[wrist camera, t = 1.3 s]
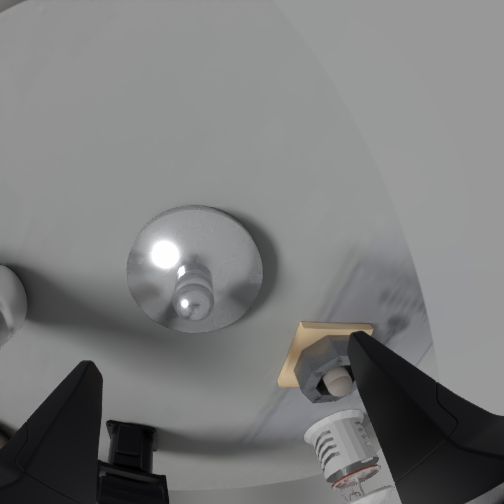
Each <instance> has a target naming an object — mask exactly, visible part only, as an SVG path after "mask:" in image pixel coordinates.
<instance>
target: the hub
mask: <svg viewBox="0 0 504 504" xmlns="http://www.w3.org/2000/svg"><path fill="white" fill-rule="evenodd" d="M127 280H128V285H129V288H130V291H131V294H132V296H133V298H134V300H135V301H136V303H137V304H138V306H139V307H140V308H141V309H142V310H143V312H144V313H145V314H147V315H148V316H149V317H150V318H151V319H153V320H154V321H156V322H157V323H159V324H161V325H163V326H165V327H167V328H170V329H173V330H176V331H180V332H186V333H205V332H211V331H215V330H218V329H221V328H224V327H226V326H228V325H230V324H232V323H234V322H235V321H237V320H238V319H240V318H241V317H242V316H243V315H244V314H245V313H246V312H247V311H248V310H249V309H250V308H251V306H252V305H253V303H254V302H255V300H256V298H257V296H258V294H259V292H260V289H261V285H262V280H263V267H262V261H261V257H260V254H259V251H258V249H257V247H256V245H255V242H254V240H253V239H252V237H251V235H250V234H249V232H248V231H247V230H246V228H245V227H244V226H243V225H242V224H241V223H240V222H239V221H238V220H236V219H235V218H233V217H232V216H231V215H229V214H227V213H225V212H223V211H221V210H218V209H215V208H212V207H207V206H199V205H189V206H181V207H176V208H173V209H170V210H168V211H165V212H163V213H161V214H160V215H158V216H157V217H155V218H154V219H152V220H151V221H150V222H149V223H148V224H147V225H146V226H145V227H144V228H143V230H142V231H141V232H140V234H139V236H138V237H137V239H136V241H135V242H134V244H133V246H132V248H131V251H130V253H129V257H128V261H127Z"/></svg>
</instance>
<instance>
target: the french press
mask: <svg viewBox="0 0 504 504" xmlns="http://www.w3.org/2000/svg"><path fill="white" fill-rule="evenodd" d="M363 419H364V413H363V412H362V411H361V410H354V409H351V410H346V411H340V412H338V413H335V414H333V415H330V416H327V417H326V418H324V419H322V420H320V421H319V422H317V423H315V424H314V425H313V426H312V427H311V428H309V429H308V430H307V432H306V433H305V435H304V440H305V442H307V443H309V444H311V445H313V446H314V449H315V452H316V454H317V457H318V459H319V463H320V465H321V467H322V470H323V472H324V476H325V478H326V481H327V482H331V483H333V482H335V483H334V484H333V485H332V489H334V490H339V489H340V492H341V494H342V496H343V497H344V499H345V500H346V501H347V503H345V504H381V503H382V502H383V501H385V500H386V499H387V498H388V497H389V496H390V495H391V493H392V491H393V490H394V488H395V487H394V486H391V485H388V486H384V487H381V488H379V489H376V490H374V491H371V492H369V493H367V494H364V492H363V490H362V487H361V485H360V483H361V482H363V481H365V480H367V479H369V478H371V477H372V476H373V475H375V474H376V473H377V472H378V471H379V470H380V468H381V466H379V465H375V464H376V463H377V462H378V460H379V457H378V455H377V453H376V451H375V449H374V447H373V446H372V443H371V441H370V440H369V438H367V437H368V435H367V433H366V431H364V430H365V429H364V428H363V425H362V422H363ZM363 429H364V430H363ZM364 434H365V437H364V438H362V436H363V435H364ZM367 441H368V443H367V446H366V444H365V442H367ZM370 443H371V444H370ZM334 444H336V446H337V447H335V448H332V447H331V445H334ZM337 451H339V453H340V455H338V456H335V454H334V452H337ZM318 452H320V454H319V455H318ZM370 457H373V459H372V460H370V461H368V462H365V463H361V461H360V460H363V459H366V458H370ZM321 458H323V460H322V462H320V460H321ZM324 465H325V466H326V467H325V468H324V469H323V466H324ZM344 467H345V474H346V475H345V476H343V473H342V471H341V469H342V468H344ZM347 472H348V474H347ZM357 483H358V484H359V487H360V488H361V491H362V493H363V495H362V496H361V494H360V493H359V492H354V491H353V489H352V487H351V486H352V485H355V484H356V485H357ZM346 487H350V489H351V491H352V494H350V495H349V497H348V499H349V501H348V500H347V499H346V498H345V496H344V495H343V493H342V490H341V489H344V488H346ZM356 493H358V494H359V496H360V497H358V496H357V495H356ZM353 494H354V495H355V496H356V497H357V498H356V499H353V500H351V498H350V496H351V495H353Z"/></svg>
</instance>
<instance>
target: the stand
mask: <svg viewBox="0 0 504 504" xmlns="http://www.w3.org/2000/svg"><path fill="white" fill-rule="evenodd" d="M360 330H362V331H364V332H366V333H367V334H369V335H370V336H371V334H372V332H373V330H374V329H373V328H372V327H371V325H370V324H348V323H317V322H300V324H299V327H298V330H297V332H296V335H295V338H294V340H293V343H292V345H291V348H290V350H289V353H288V356H287V358H286V361H285V363H284V366H283V368H282V370H281V373H280V375H279V378H278V380H277V381H278V384H279V387H300V386H299V384H298V381H297V379H296V376H295V373H294V371H293V370H294V368H295V365H296V363H297V361H298V358H299V356H300V354H301V351H302V350H303V349H305V348H307V347H308V346H310V345H312V344H313V343H315V342H316V341H318V340H320V339H321V338H323V337H324V336H326V335H350V334H351V333H352V332H355V331H360ZM322 378H323V380H324V383H325V385H326V387H327V389H328V391H329V392H330V393H331V394H332V395H333V396H337V397H341V396H344V395H346V394H348V393H349V392H350V390H351V388H352V379H351V377H350V375H349V374H348V372H347V370H346V368H345V367H344V365H341V366H337V367H336V368H334V369H332V370H331V371H329V372H327V373H326V374H324V375H322Z"/></svg>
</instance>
